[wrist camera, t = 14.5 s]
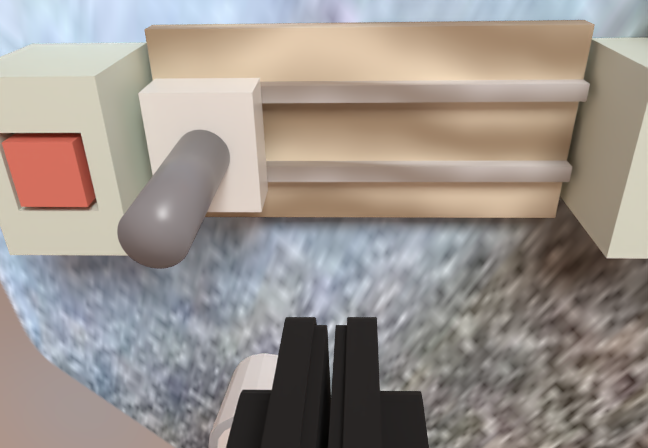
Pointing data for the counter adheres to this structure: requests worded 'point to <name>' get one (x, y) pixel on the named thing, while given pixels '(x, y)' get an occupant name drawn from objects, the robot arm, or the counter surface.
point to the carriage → (195, 163)
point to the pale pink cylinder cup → (246, 376)
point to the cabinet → (612, 149)
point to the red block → (49, 169)
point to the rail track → (400, 111)
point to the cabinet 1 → (97, 134)
